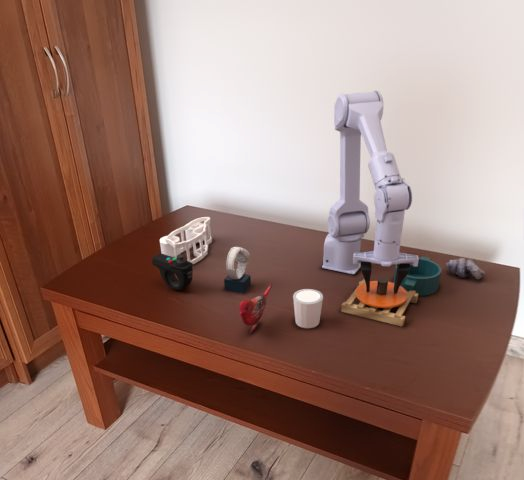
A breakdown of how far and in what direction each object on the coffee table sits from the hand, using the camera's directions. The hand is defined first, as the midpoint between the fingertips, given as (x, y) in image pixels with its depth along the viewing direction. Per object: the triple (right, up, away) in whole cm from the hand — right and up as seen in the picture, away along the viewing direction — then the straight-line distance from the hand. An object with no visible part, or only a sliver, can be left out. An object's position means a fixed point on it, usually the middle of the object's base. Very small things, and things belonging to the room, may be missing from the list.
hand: (381, 290), depth 126 cm
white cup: (-18, -8, -2) cm, 20 cm away
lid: (0, -1, +1) cm, 1 cm away
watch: (-35, +2, +12) cm, 37 cm away
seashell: (+25, +5, +14) cm, 29 cm away
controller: (-51, +2, +13) cm, 53 cm away
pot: (+11, +3, +10) cm, 15 cm away
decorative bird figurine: (-30, -8, -2) cm, 31 cm away
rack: (0, -3, +3) cm, 4 cm away
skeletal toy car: (-49, +14, +29) cm, 59 cm away
